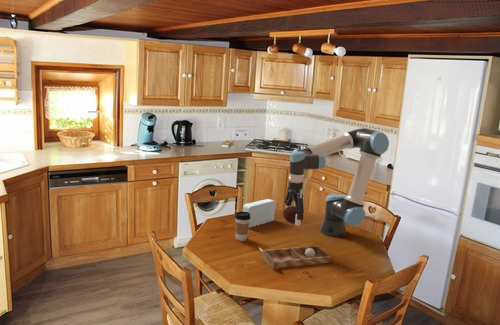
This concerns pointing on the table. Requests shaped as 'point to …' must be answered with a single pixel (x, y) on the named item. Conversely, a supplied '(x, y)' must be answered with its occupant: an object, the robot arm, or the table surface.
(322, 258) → the divided wooden tray
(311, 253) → the ball
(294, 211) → the dark brown ovoid
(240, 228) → the coffee cup
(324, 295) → the table surface
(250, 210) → the white rounded block
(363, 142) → the robot arm
